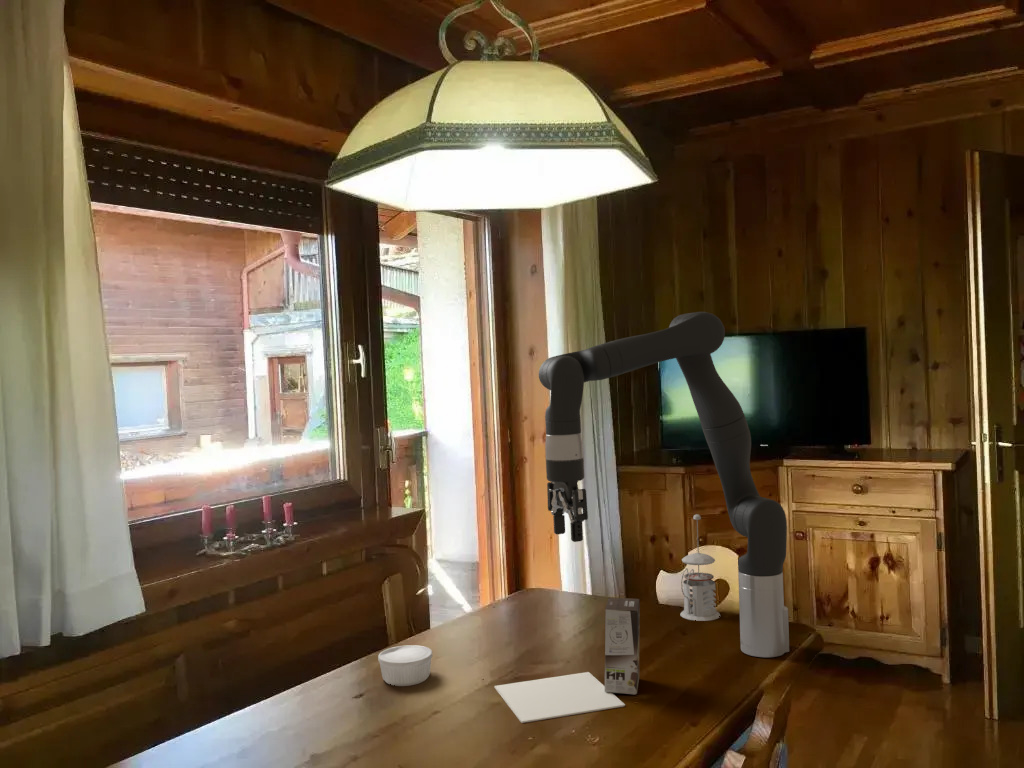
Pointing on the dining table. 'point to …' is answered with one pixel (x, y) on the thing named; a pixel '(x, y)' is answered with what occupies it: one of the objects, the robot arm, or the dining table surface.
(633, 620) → the coffee box
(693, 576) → the french press
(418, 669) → the ramekin
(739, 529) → the robot arm
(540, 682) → the mat
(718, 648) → the dining table surface
